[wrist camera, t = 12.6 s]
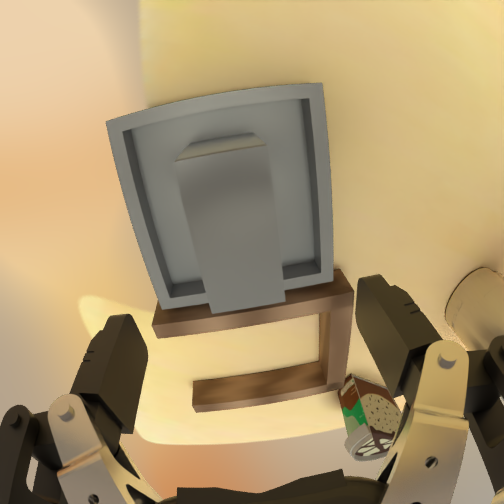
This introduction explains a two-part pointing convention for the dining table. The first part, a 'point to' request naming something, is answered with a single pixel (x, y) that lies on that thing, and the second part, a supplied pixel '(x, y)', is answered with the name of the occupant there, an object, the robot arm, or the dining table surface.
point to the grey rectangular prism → (232, 220)
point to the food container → (368, 418)
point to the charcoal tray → (282, 171)
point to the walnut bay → (297, 305)
